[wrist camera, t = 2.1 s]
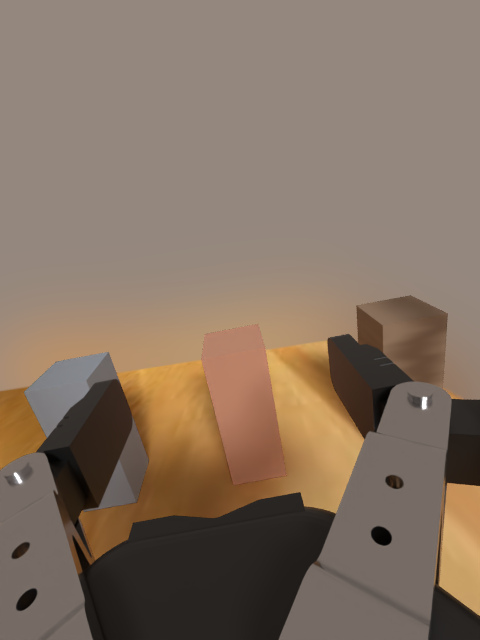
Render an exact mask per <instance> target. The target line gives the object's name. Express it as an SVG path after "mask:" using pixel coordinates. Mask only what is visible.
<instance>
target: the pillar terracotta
mask: <svg viewBox="0 0 480 640" xmlns="http://www.w3.org/2000/svg"><path fill="white" fill-rule="evenodd" d="M201 360H202V364H203V368H204V372H205V376H206V380H207V384H208V387H209V391H210V395H211V399H212V403H213V407H214V411H215V415H216V419H217V423H218V427H219V431H220V435H221V438H222V442H223V446H224V450H225V454H226V458H227V462H228V466H229V470H230V474H231V478H232V482H233V485H237V484H243V483H248V482H254V481H260V480H265V479H271V478H276V477H282V476H287V475H286V469H285V463H284V457H283V451H282V445H281V439H280V433H279V427H278V421H277V416H276V410H275V404H274V398H273V392H272V386H271V380H270V374H269V368H268V362H267V356H266V350H265V346H264V342H263V339H262V336H261V332H260V328H259V325H258V324H256V325H251V326H245V327H240V328H234V329H229V330H224V331H218V332H213V333H207V334H205V337H204V344H203V352H202V358H201Z"/></svg>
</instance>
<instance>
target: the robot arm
mask: <svg viewBox="0 0 480 640" xmlns="http://www.w3.org/2000/svg"><path fill="white" fill-rule="evenodd" d="M328 354H329V363H330V373H331V379H332V383H333V386H334V389H335V391H336V393H337V394H338V396H339V398H340V399H341V401H342V403H343V404H344V406H345V408H346V409H347V411H348V413H349V414H350V416H351V417H352V419H353V421H354V422H355V424H356V426H357V427H358V429H359V431H360V432H361V434H362V436H363V437H364V439H365V440H364V443H363V446H362V448H361V451H360V453H359V456H358V458H357V461H356V464H355V466H354V469H353V471H352V474H351V477H350V479H349V482H348V484H347V487H346V490H345V492H344V495H343V497H342V500H341V503H340V505H339V508H338V510H337V513H336V514H335V513H333V512H330V511H327V510H323V509H319V508H313V507H304V504H303V500H302V497H301V493H300V492H299V493H293V494H288V495H282V496H277V497H272V498H266V499H261V500H257V501H255V502H253V503H250V504H248V505H246V506H244V507H241V508H239V509H237V510H235V511H232V512H230V513H228V514H225V515H223V516H221V517H218V518H201V517H187V516H168V517H163V518H157V519H152V520H146V521H141V522H136V523H133V525H132V528H131V532H130V535H129V539H128V540H127V541H124V542H122V543H121V544H119V545H117V546H115V547H113V548H112V549H111V550H109V551H108V552H106V553H105V554H103V555H102V556H101V557H99V558H98V559H97V560H96V561H95V558H94V556H93V553H92V550H91V547H90V545H89V542H88V539H87V536H86V534H85V531H84V528H83V526H82V523H81V521H80V520H79V518H78V517H79V515H80V513H81V511H82V510H87V509H92V508H98V507H99V505H100V503H101V501H102V498H103V496H104V494H105V491H106V489H107V487H108V484H109V482H110V479H111V477H112V475H113V472H114V470H115V468H116V465H117V463H118V460H119V458H120V456H121V453H122V451H123V449H124V446H125V444H126V442H127V439H128V437H129V434H130V432H131V429H132V424H133V420H132V414H131V411H130V408H129V405H128V403H127V400H126V397H125V395H124V392H123V389H122V387H121V384H120V382H119V381H118V380H117V379H112V380H107V381H101V382H96V383H94V384H93V386H92V387H91V388H90V390H89V391H88V392H87V394H86V395H85V396H84V398H82V399H81V400H80V401H78V402H77V403H76V404H75V405H73V406H72V407H71V408H70V409H69V410H68V412H67V413H66V414H65V416H64V417H63V419H62V420H61V421H60V422H59V423H58V425H57V428H54V430H53V431H52V432H51V434H50V435H49V436H48V438H47V439H46V440H45V441H44V443H43V444H42V445H41V447H40V448H39V449H38V450H37V452H36V453H32V454H28V455H25V456H23V457H20V458H18V459H16V460H15V461H13V462H11V463H10V464H8V465H7V466H5V467H4V468H3V469H1V470H0V640H480V616H479V615H477V614H476V613H475V612H473V611H472V610H471V609H469V608H468V607H467V606H465V605H464V604H463V603H461V602H460V601H459V600H457V599H456V598H455V597H453V596H452V595H451V594H449V593H448V592H446V591H445V590H444V589H442V588H441V587H440V586H439V583H440V569H441V554H442V540H443V528H444V516H445V503H446V491H447V483H455V484H465V485H475V486H480V400H461V399H451V397H450V395H449V394H448V393H447V392H446V391H445V390H443V389H442V388H440V387H438V386H435V385H433V384H429V383H424V382H414V381H413V380H412V379H411V378H410V377H409V376H408V375H407V374H406V373H405V372H403V371H402V370H401V369H400V368H399V367H398V366H397V365H396V364H393V362H392V361H391V360H390V359H389V358H387V356H386V355H385V354H384V353H383V352H381V351H380V350H379V349H378V348H375V347H373V346H370V345H368V344H363V345H359V344H358V343H357V341H355V339H354V338H352V336H351V335H349V334H346V335H341V336H335V337H330V338H328Z"/></svg>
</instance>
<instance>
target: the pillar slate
mask: <svg viewBox="0 0 480 640" xmlns="http://www.w3.org/2000/svg"><path fill="white" fill-rule="evenodd" d="M112 379H117V380H118V381H119V379H118V376H117V373H116V371H115V368H114V366H113V363H112V360H111V357H110V355H109V352H106V353H101V354H95V355H90V356H85V357H79V358H74V359H68V360H63V361H58V362H55V364H54V365H52V366H51V367H50V368H49V369H48V370H47V371H46V372H45V373H44V374H43V375H42V376H41V377H39V378H38V379H37V380H36V381H35V382H34V383H33V384H32V385H31V386H30V387H29V388H28V389H27V390H26V391H25V392H24V394H25V396H26V398H27V400H28V402H29V404H30V406H31V408H32V410H33V412H34V413H35V415H36V417H37V419H38V421H39V423H40V425H41V427H42V429H43V431H44V433H45V435H46V437H47V438H48V436H49V435H50V434H51V432H52V431H53V430H54V428H57V425H58V423H59V422H60V421H61V420H62V419H63V417H64V416H65V414H66V413H67V412H68V410H69V409H70V408H71V407H72V406H73V405H75V404H76V403H77V402H78V401H80V400H81V399H82V398H84V396H85V395H86V394H87V392H88V391H89V390H90V388H91V387H92V386H93V384H94V383H96V382H101V381H107V380H112ZM119 382H120V381H119ZM132 420H133V424H132V429H131V432H130V434H129V437H128V439H127V442H126V444H125V446H124V449H123V451H122V453H121V456H120V458H119V460H118V463H117V465H116V468H115V470H114V472H113V475H112V477H111V479H110V482H109V484H108V487H107V489H106V491H105V494H104V496H103V498H102V501H101V503H100V505H99V507H98V508H92V509H87V510H84V512H86V511H91V510H97V509H103V508H108V507H114V506H119V505H125V504H131V503H136V502H137V500H138V497H139V493H140V490H141V486H142V483H143V480H144V476H145V473H146V469H147V466H148V462H149V459H148V457H147V454H146V451H145V449H144V446H143V443H142V440H141V438H140V435H139V432H138V430H137V427H136V424H135V422H134V419H133V416H132Z"/></svg>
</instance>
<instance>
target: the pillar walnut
mask: <svg viewBox="0 0 480 640" xmlns="http://www.w3.org/2000/svg"><path fill="white" fill-rule="evenodd" d="M447 317H448V314H447V313H445V312H444V311H442V310H439V309H437V308H435V307H433V306H431V305H429V304H427V303H425V302H423V301H421V300H419V299H417V298H415V297H413V296H405V297H400V298H394V299H389V300H384V301H378V302H373V303H367V304H362V305H357V327H358V344H359V345H363V344H368V345H370V346H373V347H375V348H378V349H379V350H380V351H381V352H383V353H384V354H385V355H386V356H387V358H389V359H390V360H391V361H392V362H393V364H396V365H397V366H398V367H399V368H400V369H401V370H402V371H403V372H405V373H406V374H407V375H408V376H409V377H410V378H411V379H412V380H413V381H414V382H424V383H429V384H433V385H435V386H438V387H440V388H442V389H443V378H444V377H443V376H444V363H445V348H446V332H447Z"/></svg>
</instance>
